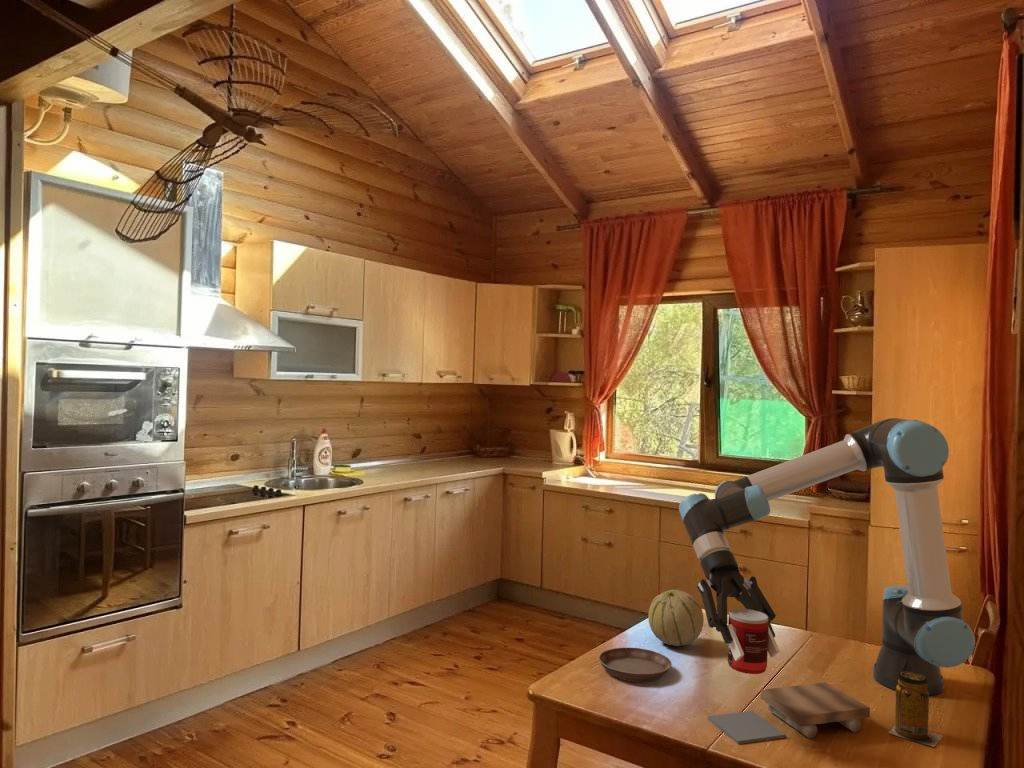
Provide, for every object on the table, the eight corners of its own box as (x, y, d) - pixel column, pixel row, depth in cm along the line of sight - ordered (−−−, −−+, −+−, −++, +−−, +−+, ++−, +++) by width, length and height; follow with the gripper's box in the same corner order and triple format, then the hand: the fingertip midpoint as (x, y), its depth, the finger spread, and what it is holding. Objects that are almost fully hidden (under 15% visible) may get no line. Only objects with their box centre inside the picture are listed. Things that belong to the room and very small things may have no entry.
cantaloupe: (710, 642, 203) (711, 588, 203) (692, 658, 191) (694, 600, 191) (658, 631, 211) (660, 578, 211) (639, 646, 199) (640, 590, 199)
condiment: (898, 722, 158) (900, 666, 158) (943, 736, 152) (945, 678, 152) (887, 733, 152) (889, 676, 152) (933, 748, 147) (935, 688, 147)
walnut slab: (825, 704, 166) (826, 682, 166) (869, 731, 153) (869, 707, 153) (760, 712, 161) (761, 689, 161) (800, 741, 148) (800, 716, 148)
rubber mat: (752, 713, 160) (752, 710, 160) (785, 737, 150) (785, 734, 150) (707, 719, 157) (707, 716, 157) (738, 744, 146) (738, 741, 146)
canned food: (735, 657, 159) (737, 606, 159) (772, 667, 154) (774, 614, 153) (720, 667, 153) (722, 614, 153) (758, 678, 148) (760, 623, 148)
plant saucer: (603, 654, 193) (604, 642, 193) (673, 663, 188) (673, 651, 188) (593, 680, 176) (593, 668, 176) (669, 690, 171) (669, 677, 171)
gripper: (748, 564, 171) (791, 659, 155) (668, 568, 165) (705, 668, 149) (762, 546, 166) (809, 643, 150) (681, 550, 160) (721, 651, 144)
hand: (757, 655), depth 150 cm, fingers closed on canned food, 8 cm apart
